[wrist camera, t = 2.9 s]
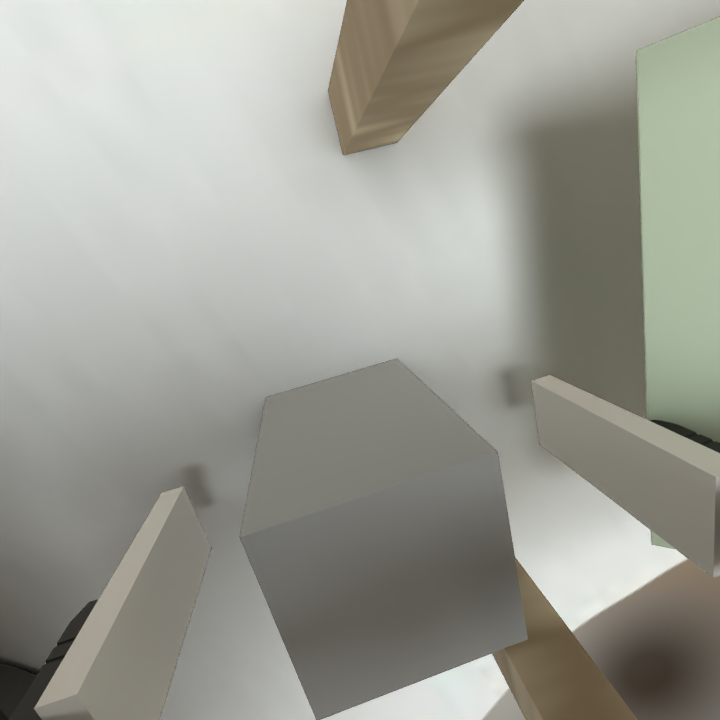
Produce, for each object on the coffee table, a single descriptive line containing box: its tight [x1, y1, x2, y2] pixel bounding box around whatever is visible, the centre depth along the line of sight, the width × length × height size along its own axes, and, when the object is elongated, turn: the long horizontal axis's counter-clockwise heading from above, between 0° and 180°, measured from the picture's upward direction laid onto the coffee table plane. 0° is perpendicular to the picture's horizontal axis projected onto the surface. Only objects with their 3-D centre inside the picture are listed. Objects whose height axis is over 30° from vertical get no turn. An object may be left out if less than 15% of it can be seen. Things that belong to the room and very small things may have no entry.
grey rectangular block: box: [240, 359, 528, 720], centre depth 12 cm, size 6×6×8 cm
